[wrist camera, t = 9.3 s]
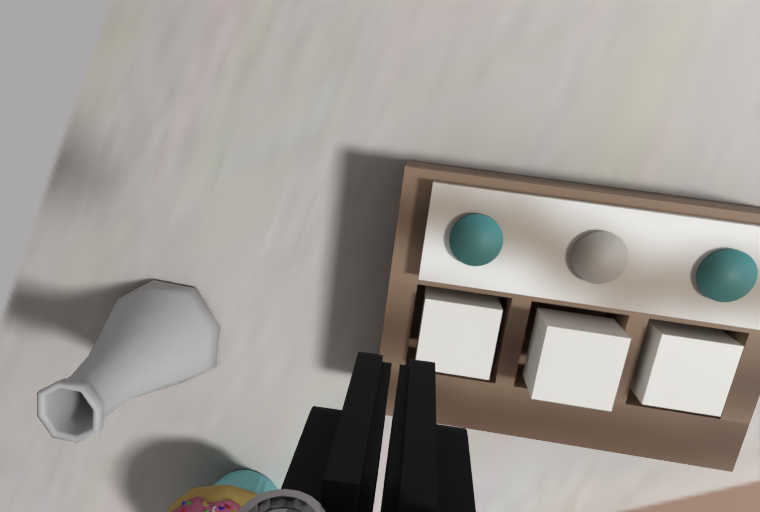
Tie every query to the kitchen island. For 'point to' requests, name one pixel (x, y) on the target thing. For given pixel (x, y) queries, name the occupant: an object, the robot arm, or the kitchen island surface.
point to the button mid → (575, 359)
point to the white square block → (685, 367)
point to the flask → (133, 358)
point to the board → (515, 339)
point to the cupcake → (224, 493)
